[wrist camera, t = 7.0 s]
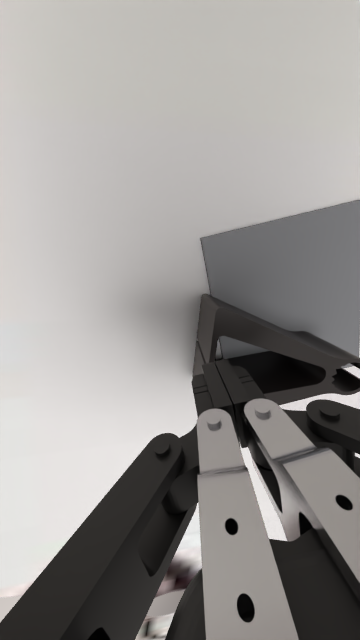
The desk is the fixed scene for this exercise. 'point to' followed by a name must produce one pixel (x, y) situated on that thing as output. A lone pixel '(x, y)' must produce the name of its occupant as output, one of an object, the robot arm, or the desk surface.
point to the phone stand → (275, 354)
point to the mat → (292, 275)
